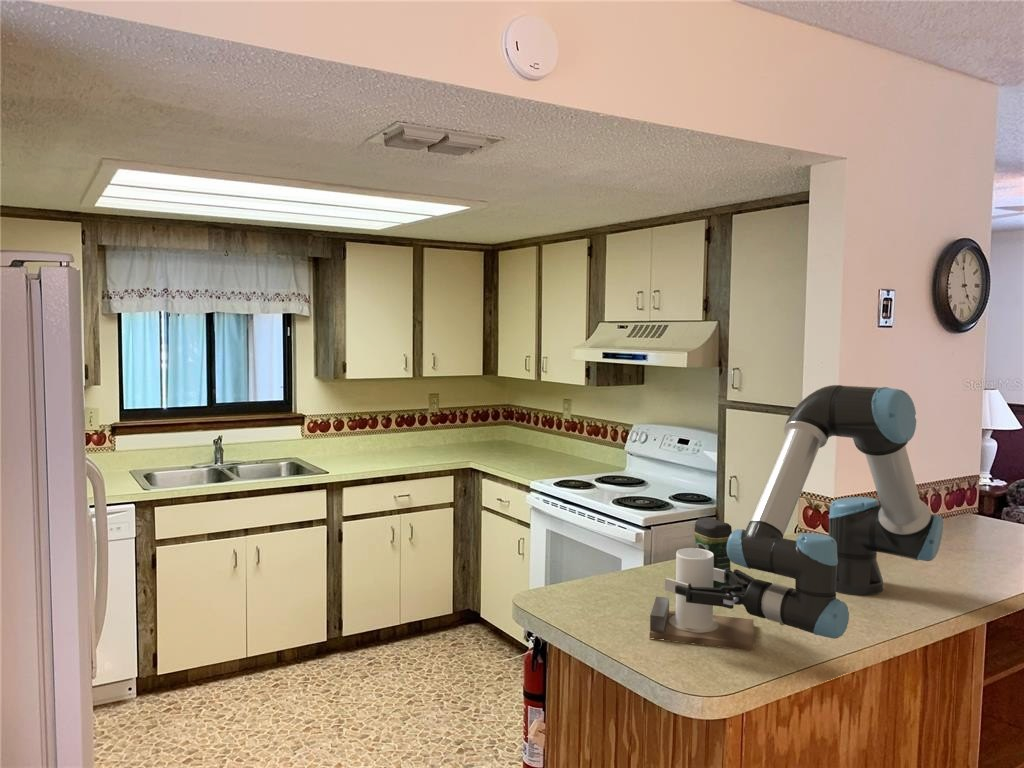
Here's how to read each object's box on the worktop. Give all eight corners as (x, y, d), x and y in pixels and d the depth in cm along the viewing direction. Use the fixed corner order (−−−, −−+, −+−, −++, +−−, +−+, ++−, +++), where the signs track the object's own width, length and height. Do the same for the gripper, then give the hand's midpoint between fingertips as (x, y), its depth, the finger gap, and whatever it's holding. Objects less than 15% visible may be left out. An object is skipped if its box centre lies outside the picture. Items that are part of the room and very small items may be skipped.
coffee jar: (736, 593, 198) (738, 522, 197) (711, 597, 195) (712, 525, 194) (712, 581, 207) (713, 513, 206) (688, 585, 204) (689, 516, 203)
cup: (671, 615, 179) (672, 548, 178) (706, 614, 180) (707, 547, 178) (681, 630, 171) (682, 559, 170) (717, 628, 171) (718, 558, 170)
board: (753, 625, 177) (753, 604, 177) (753, 650, 164) (754, 627, 164) (656, 615, 184) (656, 595, 183) (649, 638, 170) (649, 616, 170)
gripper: (737, 635, 153) (650, 607, 168) (797, 603, 170) (713, 580, 185) (738, 598, 152) (650, 573, 168) (798, 570, 169) (713, 549, 185)
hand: (683, 576), depth 177 cm, fingers open, 13 cm apart
